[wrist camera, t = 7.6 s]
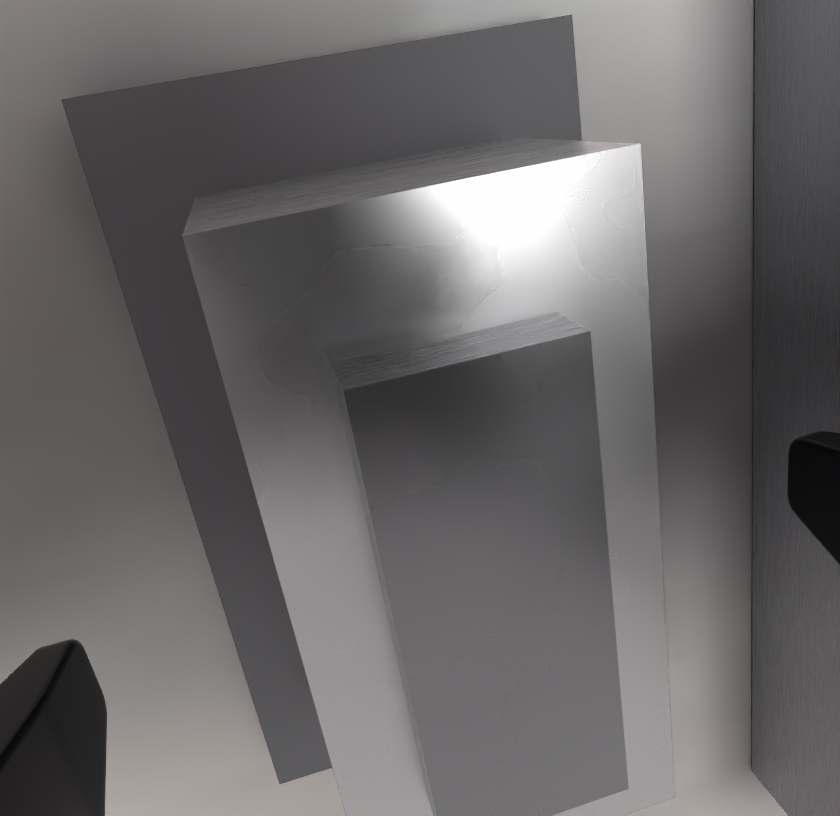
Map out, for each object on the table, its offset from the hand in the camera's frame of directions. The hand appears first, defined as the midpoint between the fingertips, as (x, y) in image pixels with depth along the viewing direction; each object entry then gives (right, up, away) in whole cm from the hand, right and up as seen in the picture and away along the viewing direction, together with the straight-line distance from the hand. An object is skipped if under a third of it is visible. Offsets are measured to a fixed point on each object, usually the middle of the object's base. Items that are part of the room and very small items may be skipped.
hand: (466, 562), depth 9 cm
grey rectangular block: (-1, +1, +3) cm, 4 cm away
